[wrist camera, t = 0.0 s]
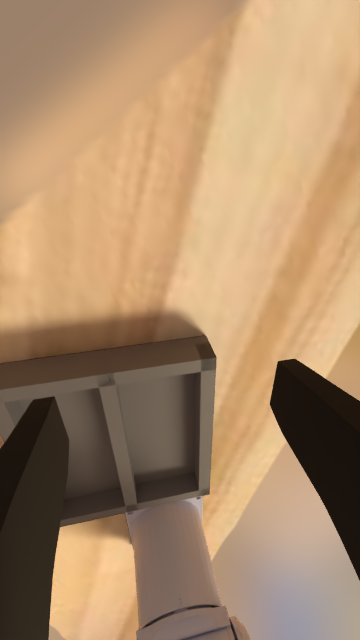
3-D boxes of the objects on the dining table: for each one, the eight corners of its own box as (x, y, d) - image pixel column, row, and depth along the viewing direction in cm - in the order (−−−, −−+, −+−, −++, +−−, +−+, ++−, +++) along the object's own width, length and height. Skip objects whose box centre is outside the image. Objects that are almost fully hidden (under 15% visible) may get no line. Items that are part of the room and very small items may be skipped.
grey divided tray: (202, 469, 30) (209, 494, 28) (53, 499, 28) (49, 529, 26) (205, 335, 22) (216, 357, 20) (-8, 364, 20) (-21, 392, 18)
